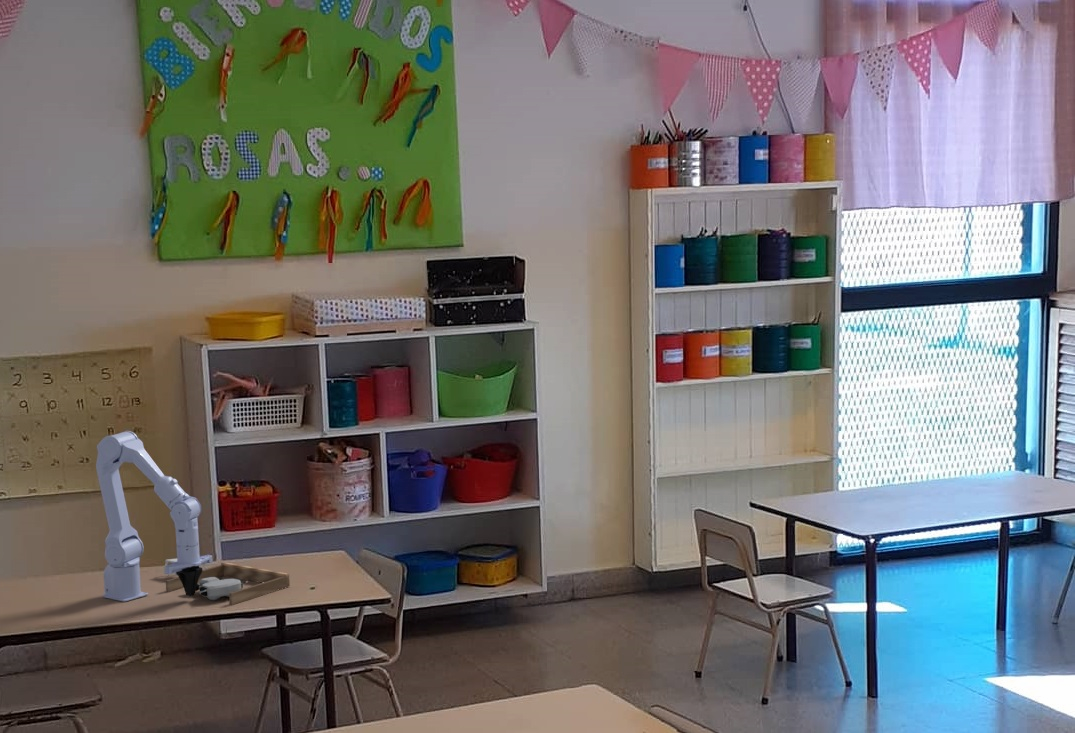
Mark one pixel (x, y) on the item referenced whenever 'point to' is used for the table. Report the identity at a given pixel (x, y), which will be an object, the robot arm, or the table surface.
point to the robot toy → (218, 587)
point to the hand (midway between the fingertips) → (190, 595)
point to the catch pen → (270, 578)
